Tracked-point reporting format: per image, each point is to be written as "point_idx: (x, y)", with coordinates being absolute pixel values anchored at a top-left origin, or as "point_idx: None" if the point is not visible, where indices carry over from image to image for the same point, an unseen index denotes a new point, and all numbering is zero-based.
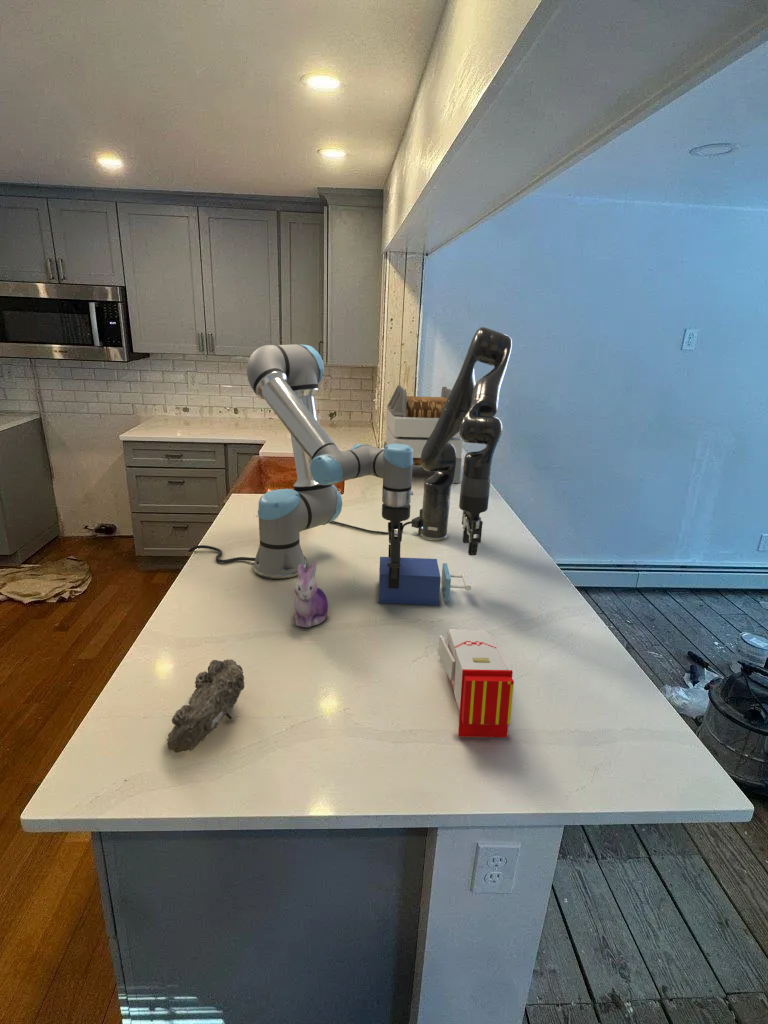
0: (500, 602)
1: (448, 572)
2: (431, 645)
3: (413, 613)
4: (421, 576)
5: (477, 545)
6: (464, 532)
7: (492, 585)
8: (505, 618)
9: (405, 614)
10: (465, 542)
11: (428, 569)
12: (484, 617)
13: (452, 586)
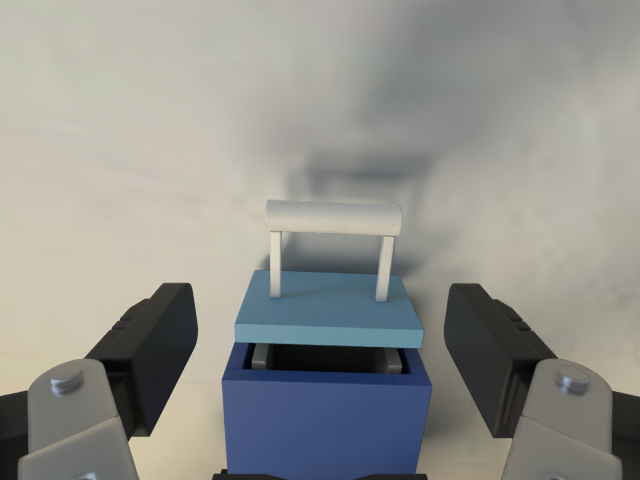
0: (387, 42)
1: (347, 331)
2: (636, 349)
3: (447, 378)
4: (418, 452)
5: (525, 338)
6: (156, 411)
7: (213, 40)
8: (529, 56)
9: (451, 398)
10: (194, 321)
11: (352, 425)
12: (506, 150)
13: (387, 289)
